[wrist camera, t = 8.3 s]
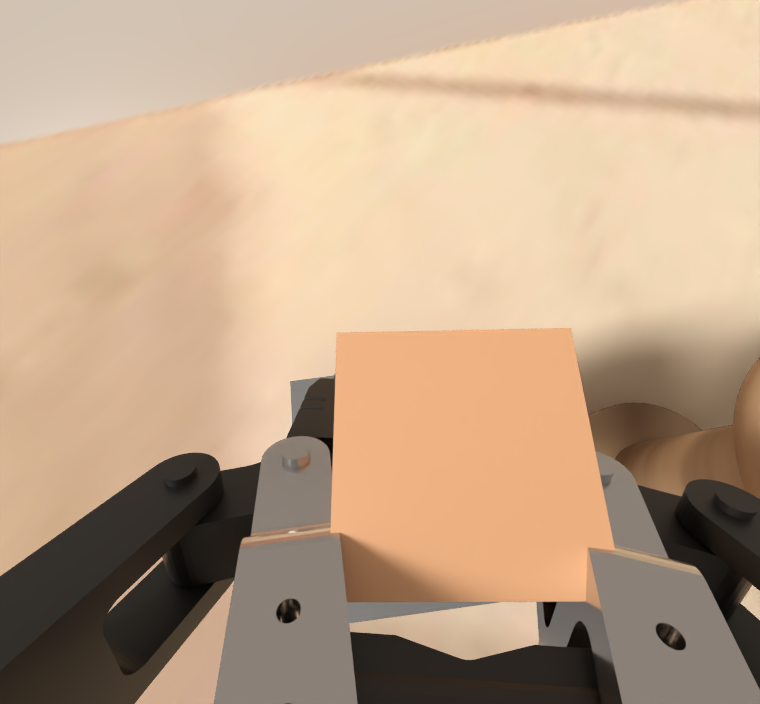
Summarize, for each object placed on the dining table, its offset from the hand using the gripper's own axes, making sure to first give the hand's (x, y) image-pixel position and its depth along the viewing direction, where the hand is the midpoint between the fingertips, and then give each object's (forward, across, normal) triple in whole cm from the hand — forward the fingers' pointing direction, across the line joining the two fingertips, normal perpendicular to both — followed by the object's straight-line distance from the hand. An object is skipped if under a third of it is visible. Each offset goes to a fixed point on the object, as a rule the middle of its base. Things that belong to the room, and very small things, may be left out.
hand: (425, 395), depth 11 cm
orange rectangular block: (+2, 0, +5) cm, 5 cm away
